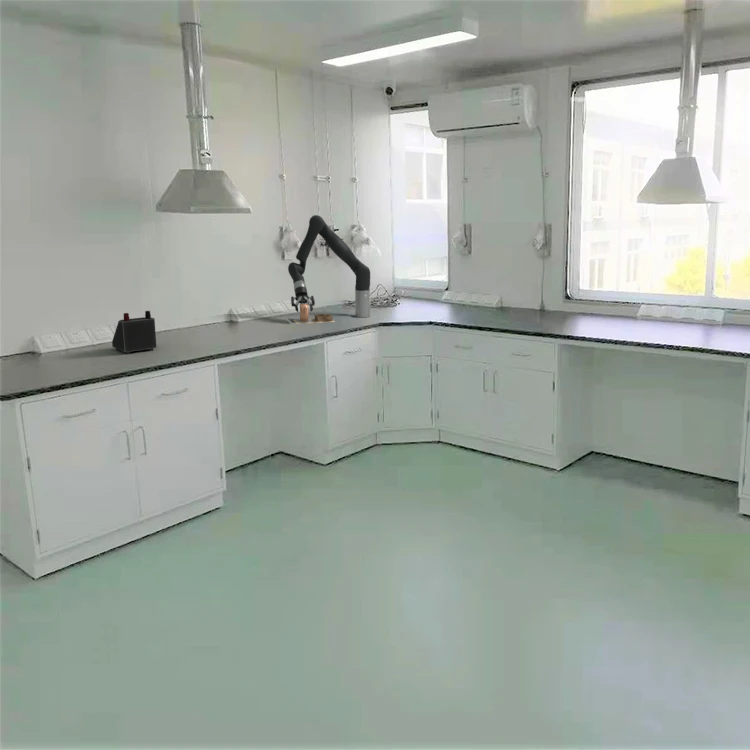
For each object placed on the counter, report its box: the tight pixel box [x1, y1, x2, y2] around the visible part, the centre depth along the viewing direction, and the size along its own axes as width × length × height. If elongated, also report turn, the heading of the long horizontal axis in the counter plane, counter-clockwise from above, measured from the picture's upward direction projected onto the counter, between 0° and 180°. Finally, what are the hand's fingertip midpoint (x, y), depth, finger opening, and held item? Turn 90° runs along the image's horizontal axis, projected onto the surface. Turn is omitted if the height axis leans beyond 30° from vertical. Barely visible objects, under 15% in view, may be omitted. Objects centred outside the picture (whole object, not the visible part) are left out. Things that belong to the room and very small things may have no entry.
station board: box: [292, 313, 336, 325], centre depth 427 cm, size 24×14×4 cm, turn 108°
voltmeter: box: [111, 310, 158, 355], centre depth 345 cm, size 16×16×20 cm
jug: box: [299, 303, 310, 321], centre depth 423 cm, size 5×8×10 cm
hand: (304, 310), depth 422 cm, fingers open, 8 cm apart
